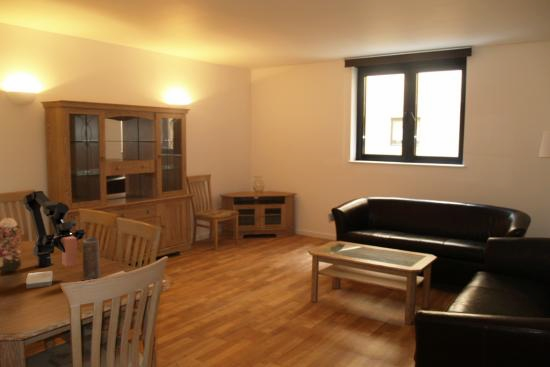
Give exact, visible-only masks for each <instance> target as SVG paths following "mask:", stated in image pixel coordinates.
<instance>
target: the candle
mask: <svg viewBox="0 0 550 367" xmlns="http://www.w3.org/2000/svg"><path fill="white" fill-rule="evenodd" d="M99 244H100V243H99V238H97V237H88V238H85V239H82V243H81V245H82V280H83V281H86V280H90V279H96V280H98V279H97V278H99V279H100V276H101V275H100V274H101V273H100V271H101V268H100V245H99Z"/></svg>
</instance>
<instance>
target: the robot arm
mask: <svg viewBox="0 0 550 367" xmlns="http://www.w3.org/2000/svg"><path fill="white" fill-rule="evenodd" d="M22 204H23V205H24V206H25V209H26V210H27V211H28V212H30V215H31V219H32V223H33V226H34V231H35V234H36V239H35V242H34V244H35V245H34V247H33V250H32V253H33V254H32V255H33V256H35V257H37V258H36V259H37V264H35V265H34V266H35V267H37V268H46V267H50V266H53V265H54V262H53V263H52V258H51V254H54V253H55V248H57V249H58V250H60V251H61V253H62V252H64V253H65V249H64V246H63V244H62V238H63V237H70V236H73V237H76V238H77V241H79V240H80V241H81V240H84V239H83V238H84V236H85V235H86V230H85V229H84V228H78V229H75V231H74V232H72V229H74V228H75V227H76V226H77V222H76V221H75V219H72V220H70V221H65V219H66V218H67V215H68V213H69V211H70V207H69V206H68V205H67V204H65V203H63V201H61V202H57V201H56V202H55V201H52V200H51V199H50V198H49V197H48V196H47V195H46V194H45V192H44V191H43V190H35V191H31V193H29V194H27V195H25V196H24V197H23V198H22ZM41 208H43V209H42V211H41ZM42 212H43V214H44V215H45V216H46V217H47V218H48V217H50V219H49V224H50V225H52V229H53V233H49V234H48V233H47V231H46V226H45V223H44V219H43V215H42ZM71 232H72V233H71Z"/></svg>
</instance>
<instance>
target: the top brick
mask: <svg viewBox="0 0 550 367" xmlns="http://www.w3.org/2000/svg"><path fill="white" fill-rule="evenodd" d="M61 242H62V244H63V246H64V249H65V253H64V252H62V251H61V264H62V265H63V266H65V267H70V266H75V265H78V246H77V245H78V243H77V242H78V240H77V238H76V237H73V236H70V237H63V238H62V239H61Z"/></svg>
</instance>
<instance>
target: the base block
mask: <svg viewBox="0 0 550 367" xmlns="http://www.w3.org/2000/svg"><path fill="white" fill-rule="evenodd" d="M25 280H26V281H25V282H26V283H25V284H26V289H33V288H42V287H49V286H52V284H53V270H47V271H41V272H30V273H27V277H26V279H25Z"/></svg>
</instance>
